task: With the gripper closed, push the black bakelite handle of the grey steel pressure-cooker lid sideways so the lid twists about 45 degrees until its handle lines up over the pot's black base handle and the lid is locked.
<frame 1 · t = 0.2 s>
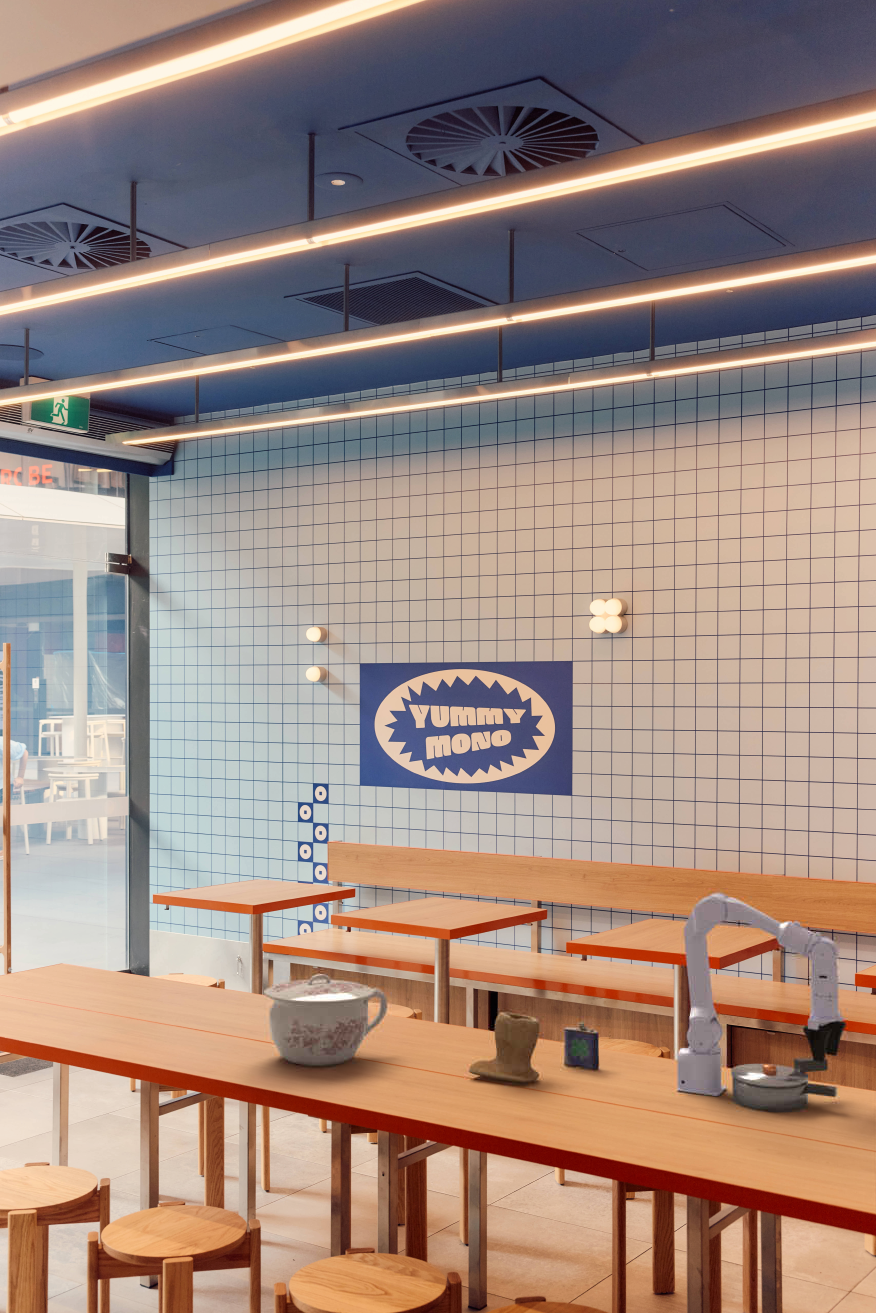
hand: (825, 1058, 266), 10 cm above the table, fingers open, 7 cm apart
cooker pot: (769, 1101, 267), on the table
brown boot: (508, 1079, 284), on the table
chamber pot: (318, 1060, 300), on the table
flask: (581, 1068, 296), on the table
cooker lid: (781, 1068, 269), point 7 cm above the table, hinge at 45.0°
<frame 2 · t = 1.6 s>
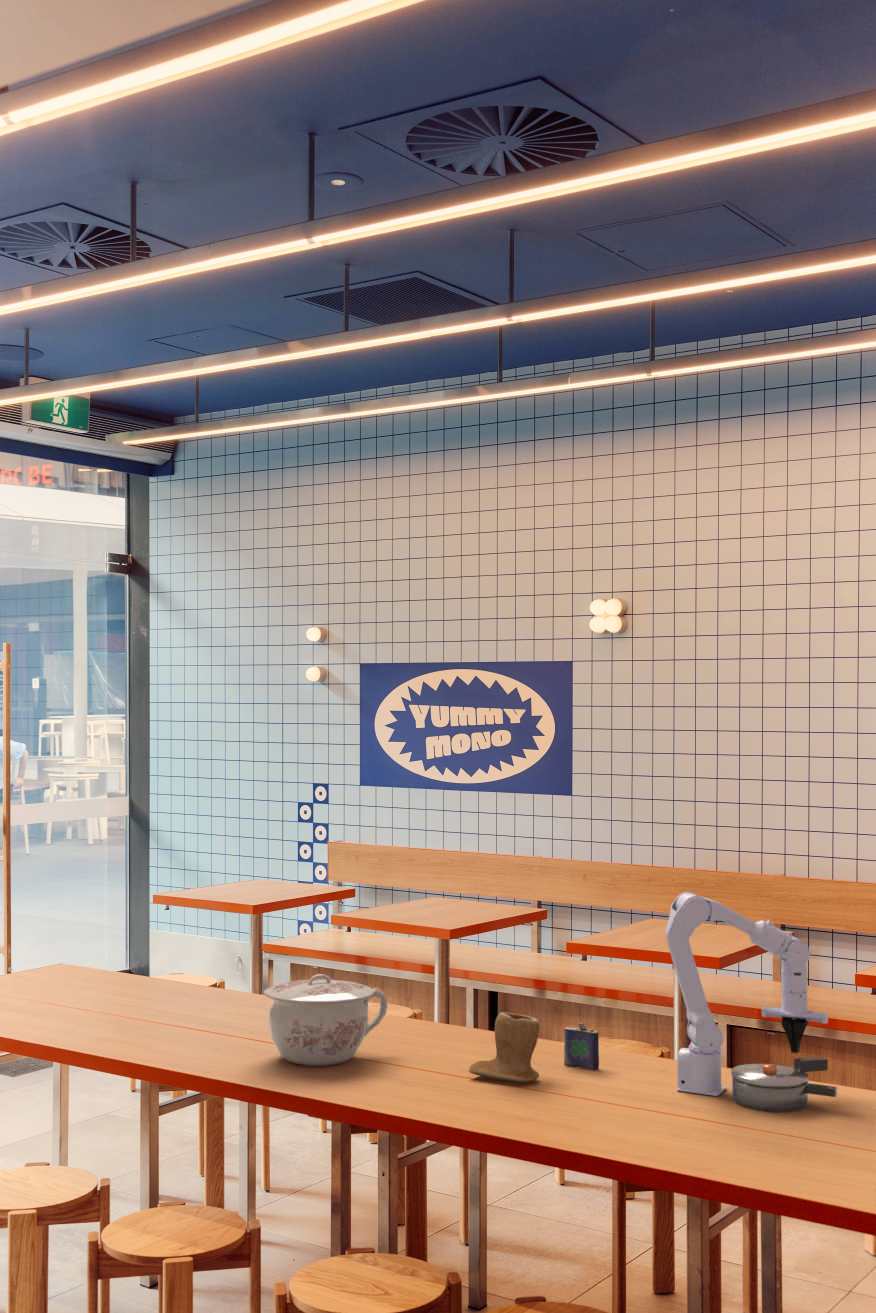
hand: (795, 1052, 277), 9 cm above the table, fingers closed
nothing on the table moved.
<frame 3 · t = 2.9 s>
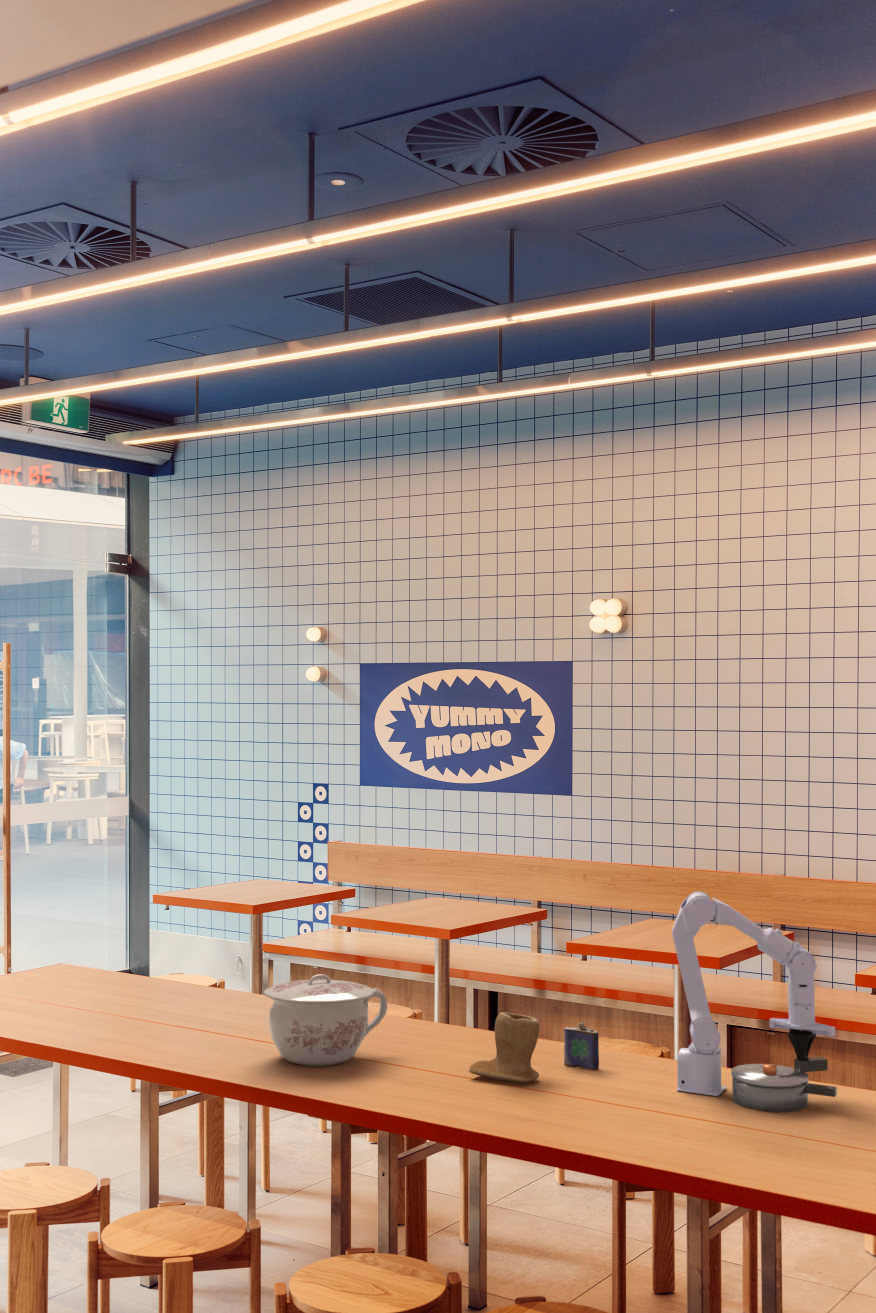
hand: (802, 1064, 273), 7 cm above the table, fingers closed
cooker lid: (781, 1068, 269), point 7 cm above the table, hinge at 44.9°, touching gripper
everything else where it was.
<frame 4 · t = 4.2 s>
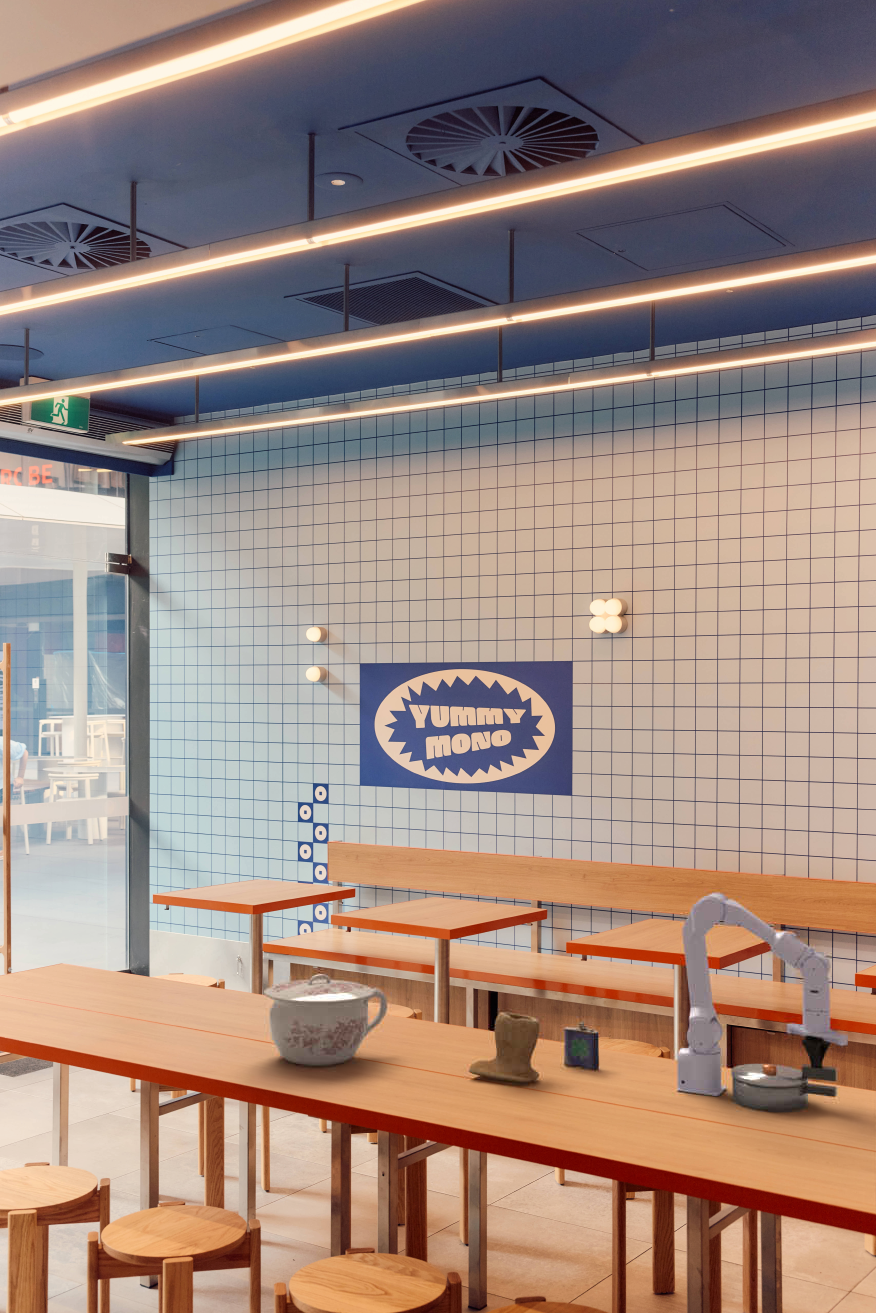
hand: (816, 1072, 267), 7 cm above the table, fingers closed, pressing on cooker lid
cooker lid: (783, 1071, 267), point 7 cm above the table, hinge at 4.9°, touching gripper
everything else where it was.
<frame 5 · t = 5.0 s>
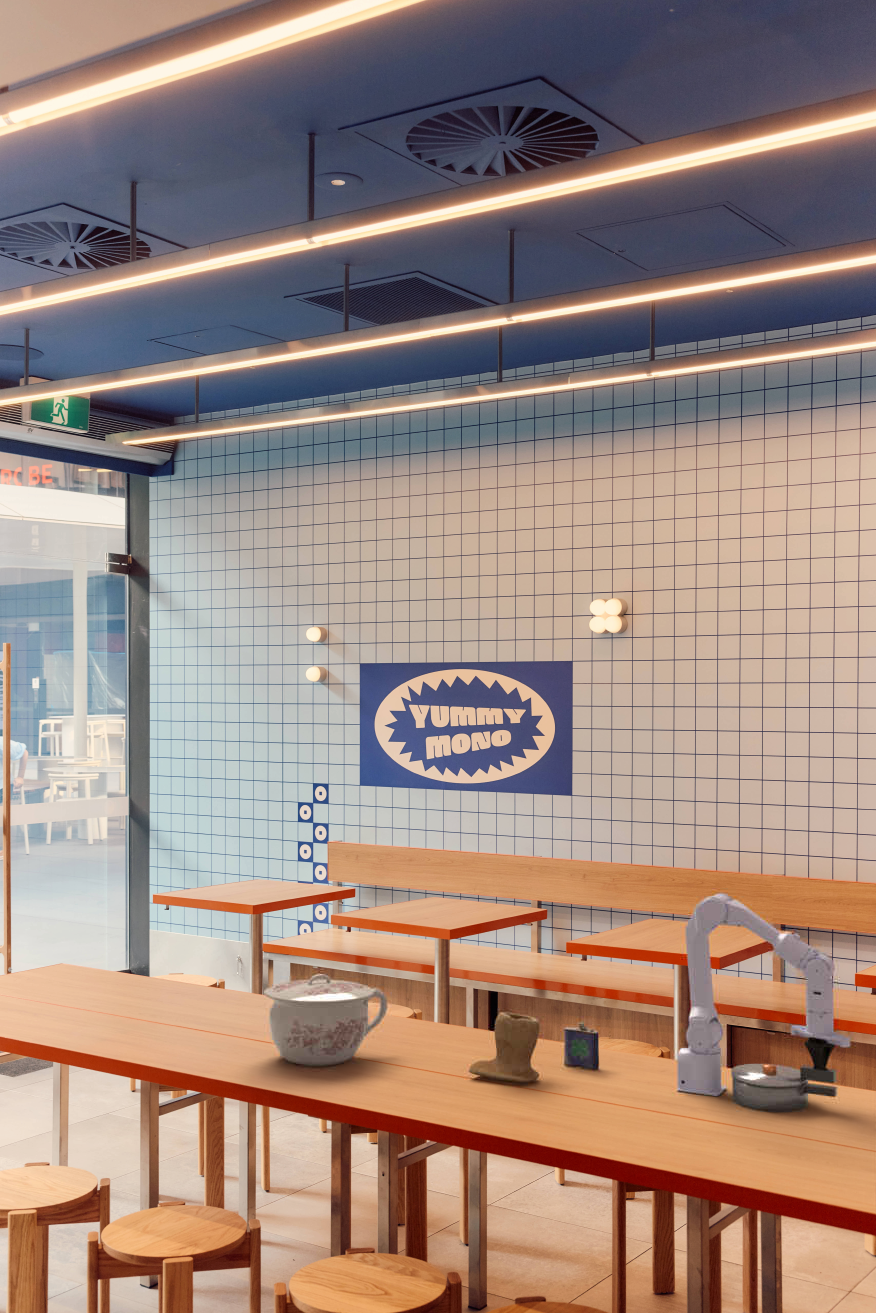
hand: (820, 1074, 265), 7 cm above the table, fingers closed
cooker lid: (782, 1071, 266), point 7 cm above the table, hinge at -3.0°, touching gripper
everything else where it was.
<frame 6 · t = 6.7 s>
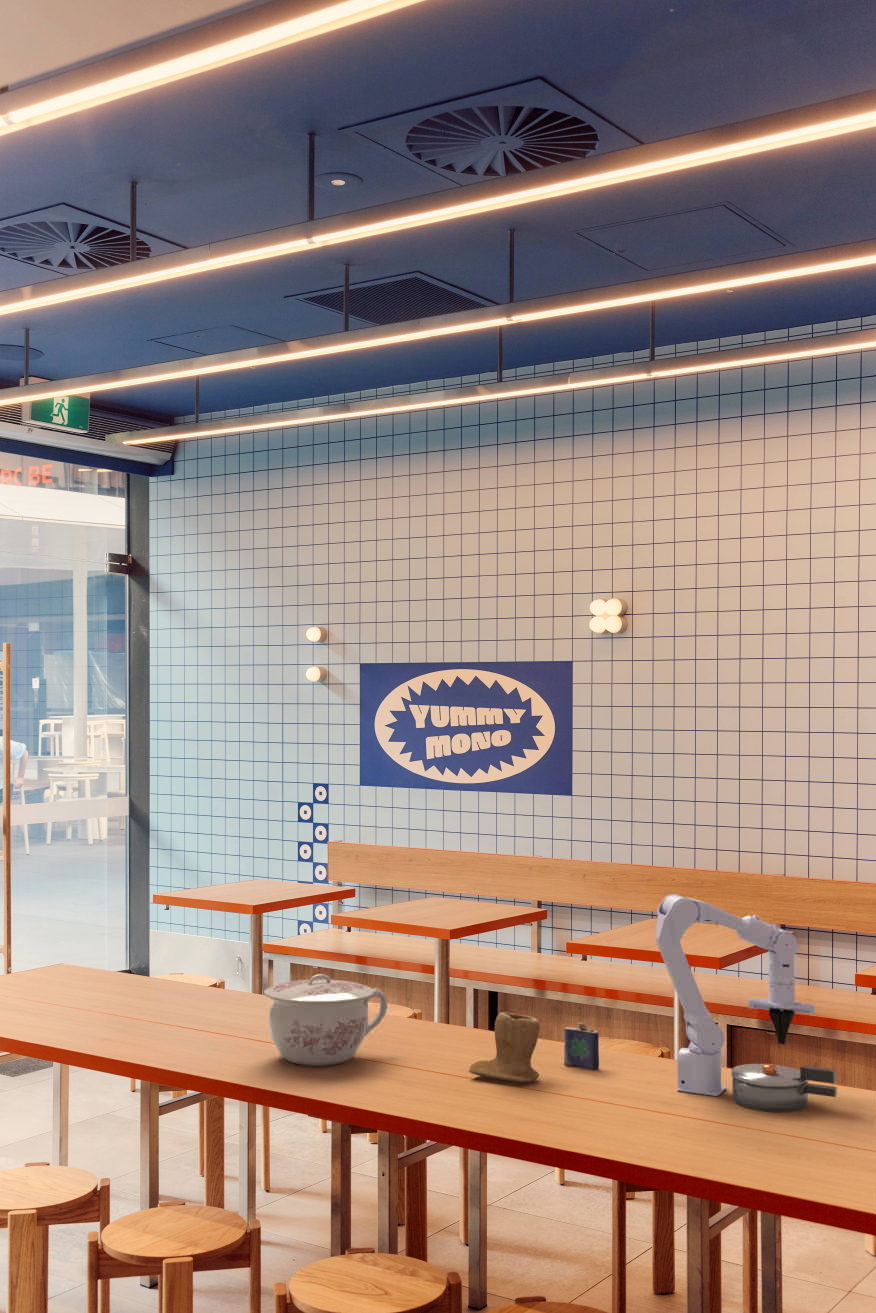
hand: (782, 1043, 279), 10 cm above the table, fingers closed
cooker lid: (782, 1071, 266), point 7 cm above the table, hinge at -3.3°
everything else where it was.
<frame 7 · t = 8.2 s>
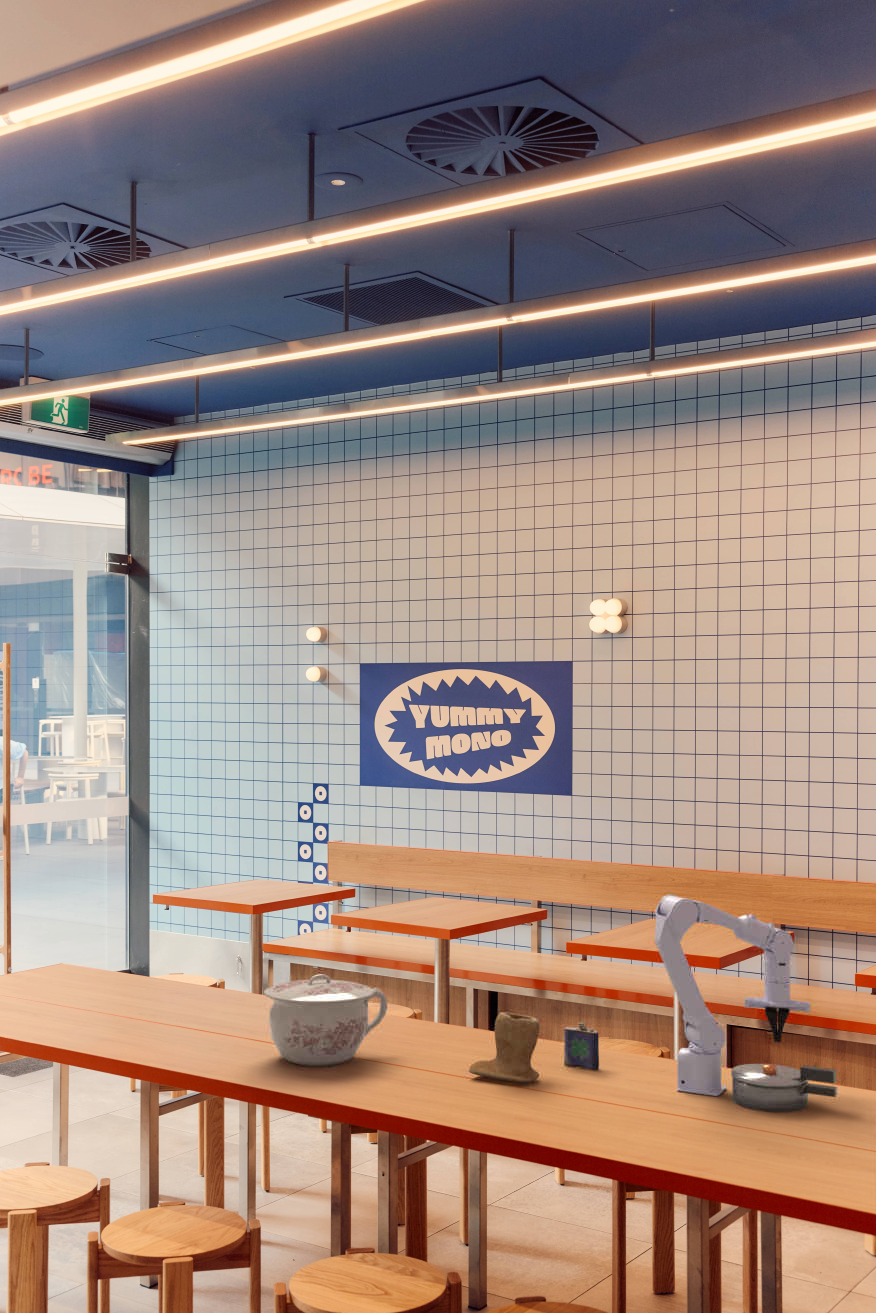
hand: (777, 1041, 280), 10 cm above the table, fingers closed
nothing on the table moved.
at the end: cooker lid at -3° (first picture: +45°); the gripper is holding nothing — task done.
